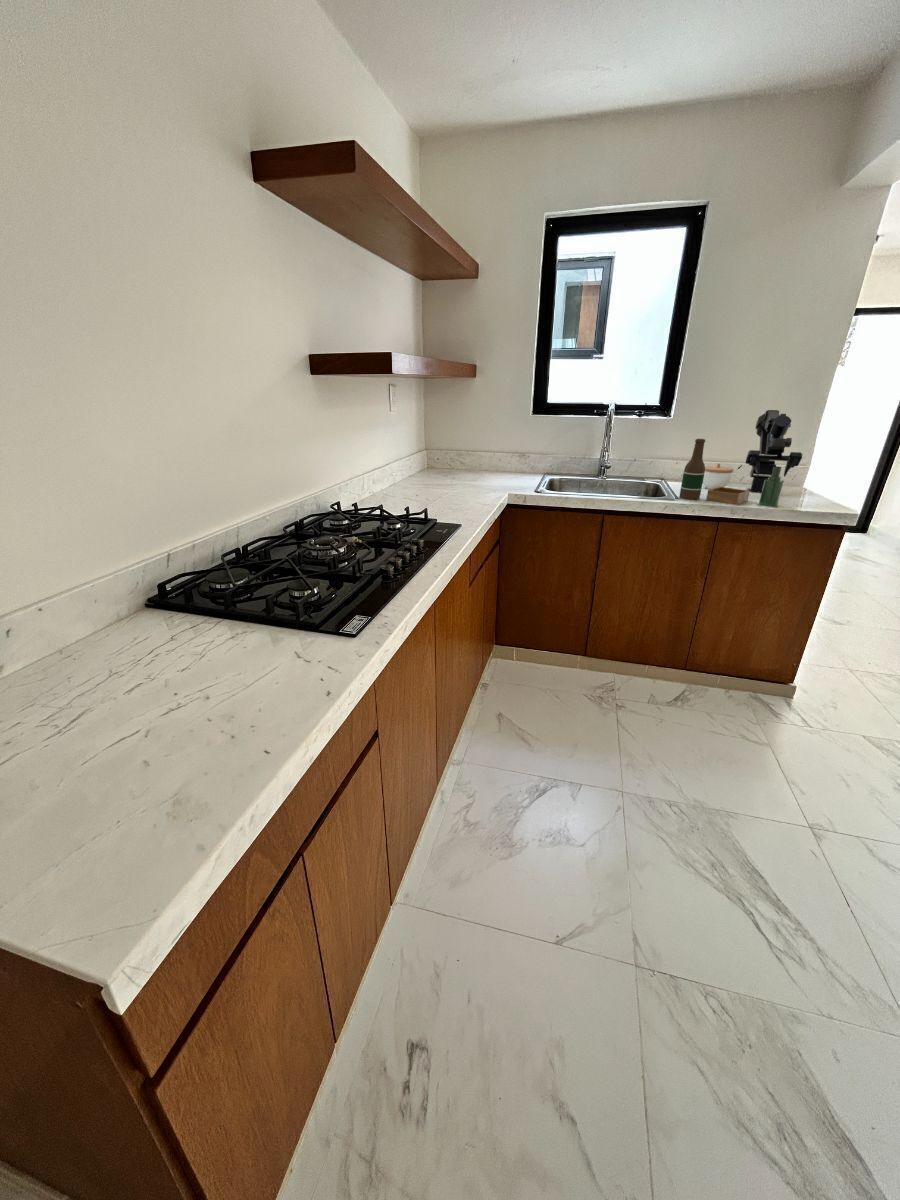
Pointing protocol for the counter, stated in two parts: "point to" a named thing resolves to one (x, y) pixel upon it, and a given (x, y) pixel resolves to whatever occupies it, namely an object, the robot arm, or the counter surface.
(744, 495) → the wooden tray
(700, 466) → the beer bottle
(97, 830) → the counter surface
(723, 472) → the lidded bowl
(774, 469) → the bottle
